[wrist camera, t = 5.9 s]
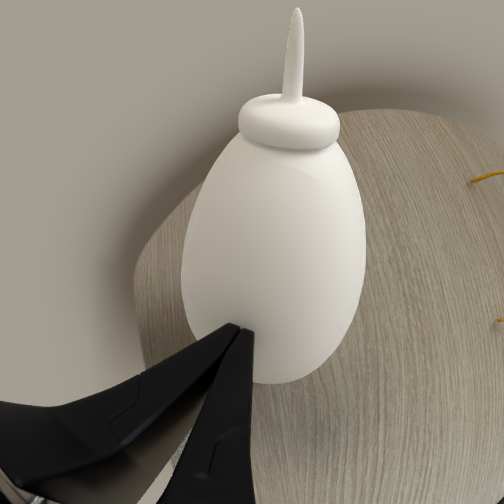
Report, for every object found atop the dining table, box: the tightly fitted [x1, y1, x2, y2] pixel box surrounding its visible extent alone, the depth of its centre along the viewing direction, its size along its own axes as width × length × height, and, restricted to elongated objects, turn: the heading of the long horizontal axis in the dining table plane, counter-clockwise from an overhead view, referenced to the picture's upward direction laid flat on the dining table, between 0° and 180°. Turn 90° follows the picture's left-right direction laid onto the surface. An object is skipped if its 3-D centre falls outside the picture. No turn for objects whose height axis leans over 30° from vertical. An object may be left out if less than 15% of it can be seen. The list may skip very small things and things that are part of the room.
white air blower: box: [181, 8, 366, 384], centre depth 11 cm, size 8×8×18 cm
